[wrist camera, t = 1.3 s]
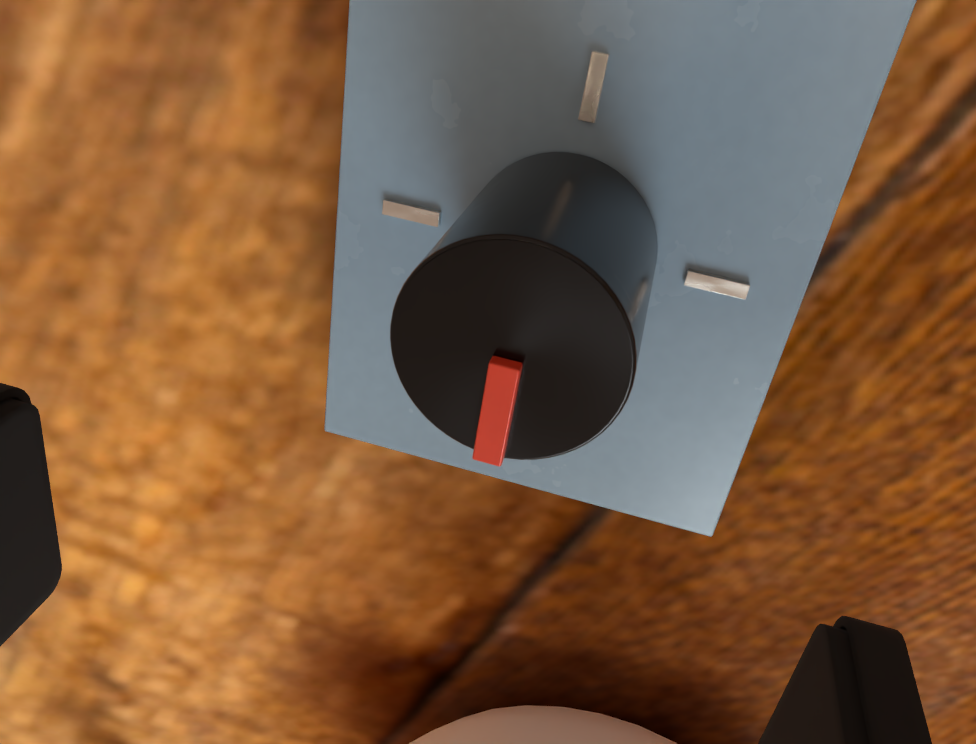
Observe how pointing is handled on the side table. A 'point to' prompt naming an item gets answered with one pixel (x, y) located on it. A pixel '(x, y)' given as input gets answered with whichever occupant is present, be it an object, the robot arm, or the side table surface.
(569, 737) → the bowl
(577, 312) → the dial knob
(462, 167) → the dial base
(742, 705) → the side table surface
